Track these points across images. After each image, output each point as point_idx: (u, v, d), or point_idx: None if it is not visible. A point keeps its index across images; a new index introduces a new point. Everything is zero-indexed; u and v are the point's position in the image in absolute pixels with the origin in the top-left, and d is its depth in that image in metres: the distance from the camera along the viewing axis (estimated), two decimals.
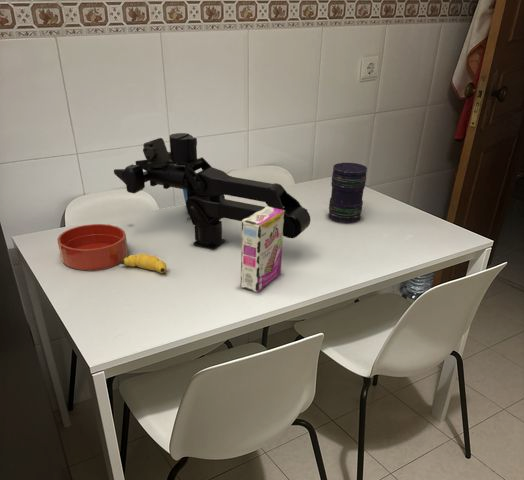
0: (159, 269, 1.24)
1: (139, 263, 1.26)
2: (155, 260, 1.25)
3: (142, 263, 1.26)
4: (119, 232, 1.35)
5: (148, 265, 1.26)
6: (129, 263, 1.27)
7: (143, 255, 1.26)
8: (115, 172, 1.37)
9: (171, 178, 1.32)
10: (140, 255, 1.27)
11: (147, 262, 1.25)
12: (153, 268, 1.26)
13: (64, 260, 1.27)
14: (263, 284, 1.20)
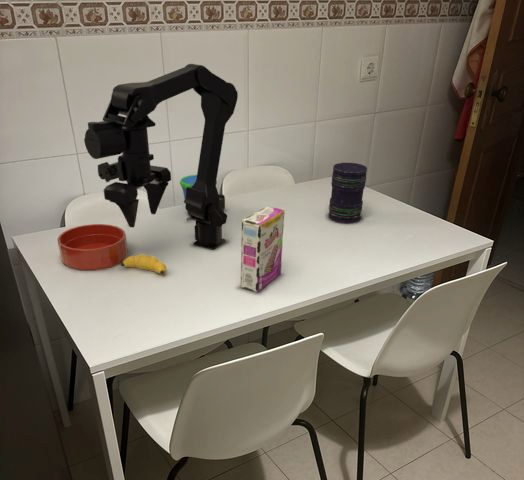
0: (159, 272, 1.24)
1: (138, 265, 1.26)
2: (154, 262, 1.25)
3: (141, 265, 1.26)
4: (119, 232, 1.35)
5: (148, 267, 1.26)
6: (129, 265, 1.27)
7: (141, 257, 1.26)
8: (130, 224, 1.17)
9: (142, 148, 1.11)
10: (138, 257, 1.26)
11: (146, 264, 1.25)
12: (153, 269, 1.26)
13: (64, 260, 1.27)
14: (263, 284, 1.20)
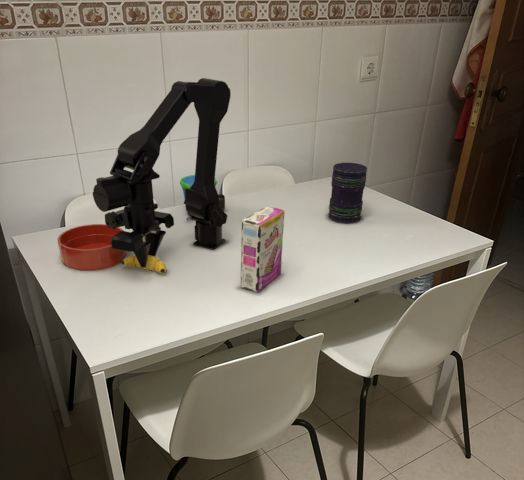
0: (159, 270, 1.24)
1: (139, 264, 1.26)
2: (155, 260, 1.25)
3: None
4: None
5: (148, 265, 1.26)
6: (129, 264, 1.27)
7: None
8: (142, 265, 1.25)
9: (147, 199, 1.17)
10: None
11: (147, 263, 1.25)
12: (153, 268, 1.26)
13: (64, 260, 1.27)
14: (263, 284, 1.20)
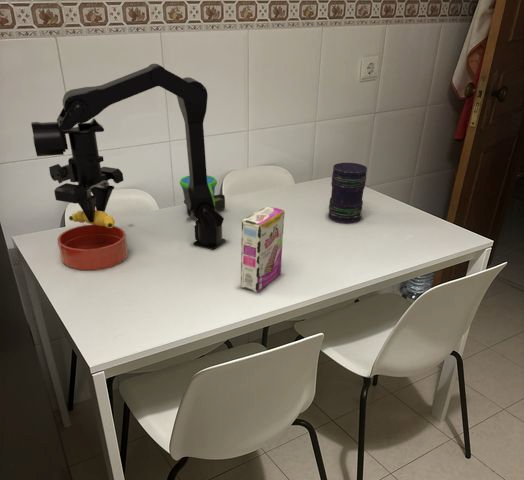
0: (107, 224, 1.23)
1: (87, 219, 1.26)
2: (103, 215, 1.25)
3: None
4: (119, 232, 1.35)
5: (96, 220, 1.25)
6: (77, 219, 1.26)
7: None
8: (90, 220, 1.25)
9: (84, 151, 1.15)
10: None
11: (95, 218, 1.25)
12: (101, 224, 1.25)
13: (64, 260, 1.27)
14: (263, 284, 1.20)
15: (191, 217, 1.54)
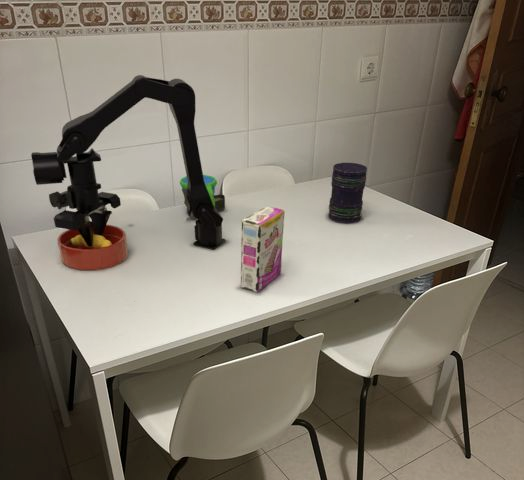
0: None
1: None
2: (101, 240, 1.29)
3: None
4: (119, 232, 1.35)
5: (94, 244, 1.29)
6: (76, 243, 1.31)
7: None
8: (88, 244, 1.29)
9: (82, 180, 1.19)
10: None
11: (93, 242, 1.29)
12: (99, 247, 1.30)
13: (64, 260, 1.27)
14: (263, 284, 1.20)
15: (191, 217, 1.54)
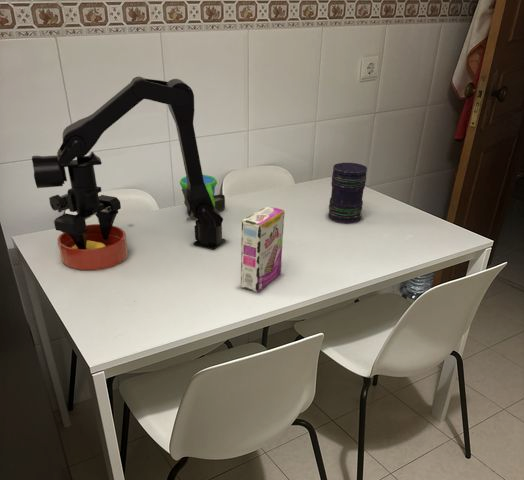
0: None
1: None
2: None
3: None
4: (119, 232, 1.35)
5: None
6: None
7: (88, 243, 1.30)
8: None
9: (82, 183, 1.20)
10: None
11: None
12: None
13: (64, 260, 1.27)
14: (263, 284, 1.20)
15: (191, 217, 1.54)
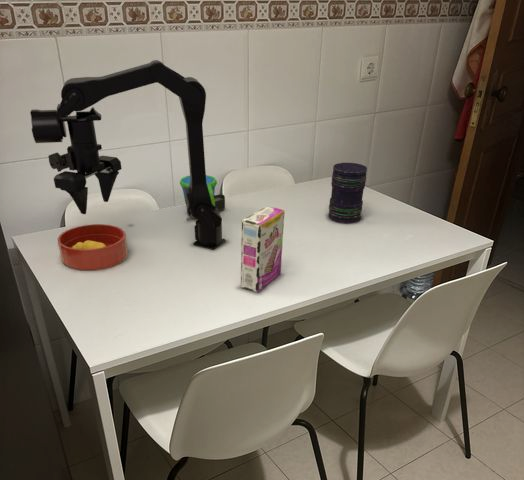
0: None
1: None
2: (100, 247, 1.30)
3: None
4: (119, 232, 1.35)
5: None
6: None
7: (89, 243, 1.30)
8: (82, 211, 1.24)
9: (81, 139, 1.17)
10: (86, 243, 1.31)
11: None
12: None
13: (64, 260, 1.27)
14: (263, 284, 1.20)
15: (191, 217, 1.54)
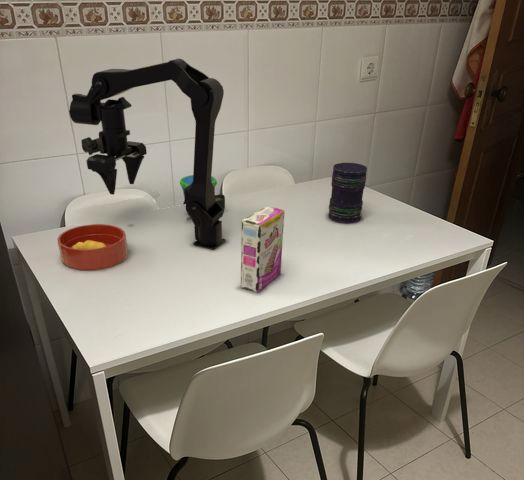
0: None
1: None
2: (101, 247, 1.30)
3: None
4: (119, 232, 1.35)
5: None
6: None
7: (89, 242, 1.31)
8: (111, 192, 1.35)
9: (106, 124, 1.28)
10: (86, 243, 1.31)
11: None
12: None
13: (64, 260, 1.27)
14: (263, 284, 1.20)
15: None
